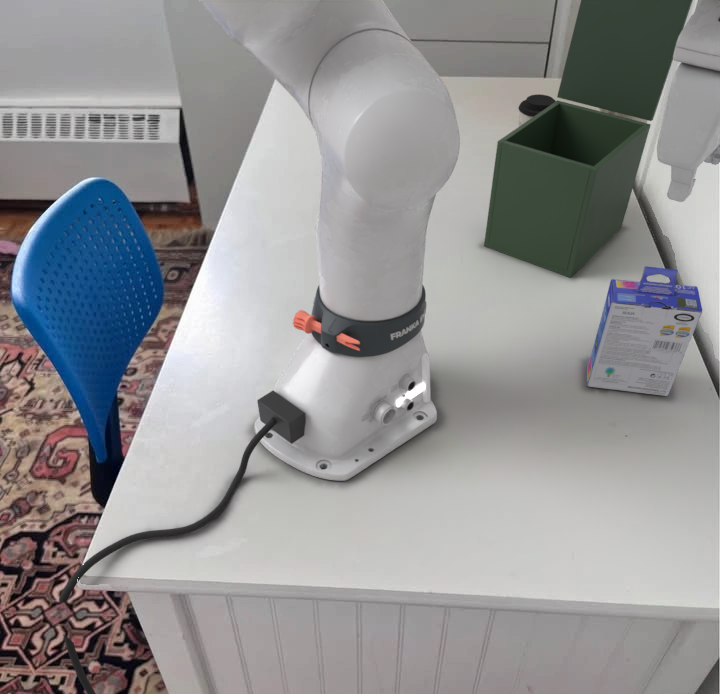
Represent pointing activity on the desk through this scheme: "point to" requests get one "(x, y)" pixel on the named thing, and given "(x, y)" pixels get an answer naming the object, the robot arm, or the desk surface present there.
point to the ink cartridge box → (643, 334)
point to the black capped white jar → (533, 106)
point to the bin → (563, 185)
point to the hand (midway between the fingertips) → (695, 178)
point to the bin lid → (622, 54)
